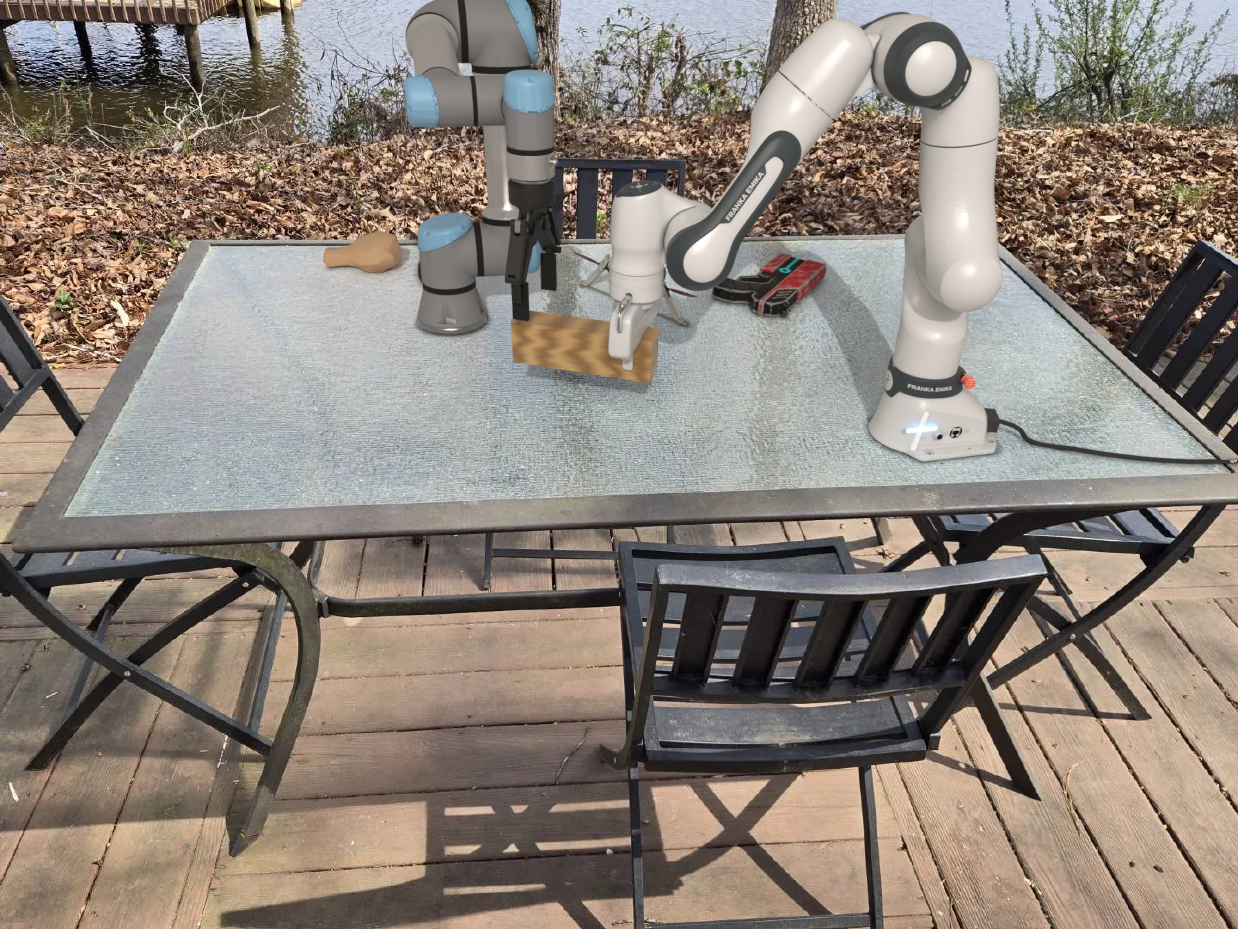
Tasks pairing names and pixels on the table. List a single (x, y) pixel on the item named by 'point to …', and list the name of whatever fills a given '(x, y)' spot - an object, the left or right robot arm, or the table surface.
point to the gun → (773, 285)
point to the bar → (579, 346)
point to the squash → (367, 253)
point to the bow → (669, 300)
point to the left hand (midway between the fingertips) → (535, 304)
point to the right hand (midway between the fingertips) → (633, 359)
